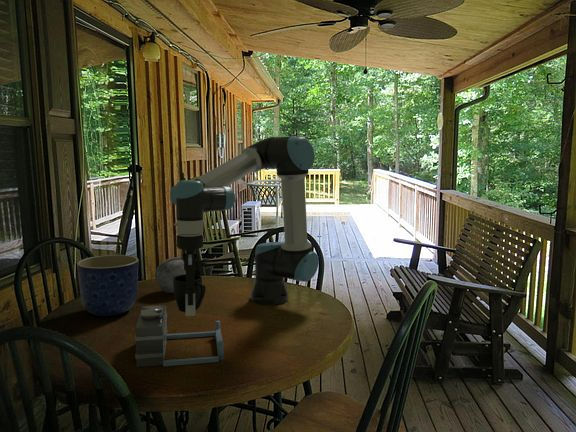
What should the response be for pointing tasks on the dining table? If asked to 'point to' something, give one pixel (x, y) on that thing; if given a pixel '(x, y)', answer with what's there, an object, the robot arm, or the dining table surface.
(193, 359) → the clip bracket
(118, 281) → the planter
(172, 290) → the decorative orb
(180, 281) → the mug
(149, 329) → the grey stepped block
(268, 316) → the dining table surface
